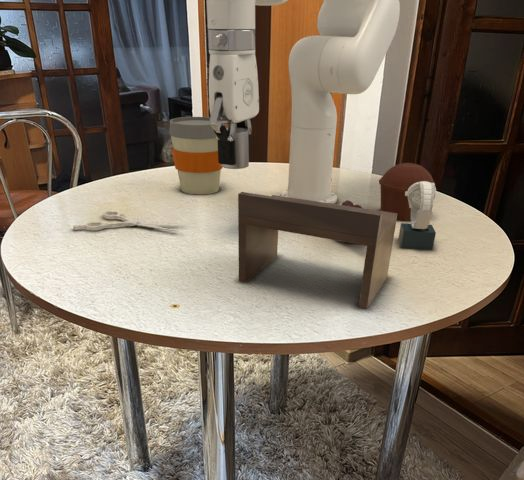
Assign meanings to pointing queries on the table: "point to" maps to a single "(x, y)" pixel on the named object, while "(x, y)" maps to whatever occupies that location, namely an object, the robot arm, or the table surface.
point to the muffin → (400, 188)
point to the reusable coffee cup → (195, 154)
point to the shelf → (313, 233)
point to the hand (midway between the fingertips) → (234, 159)
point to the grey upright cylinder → (240, 149)
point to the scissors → (119, 223)
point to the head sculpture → (419, 217)
